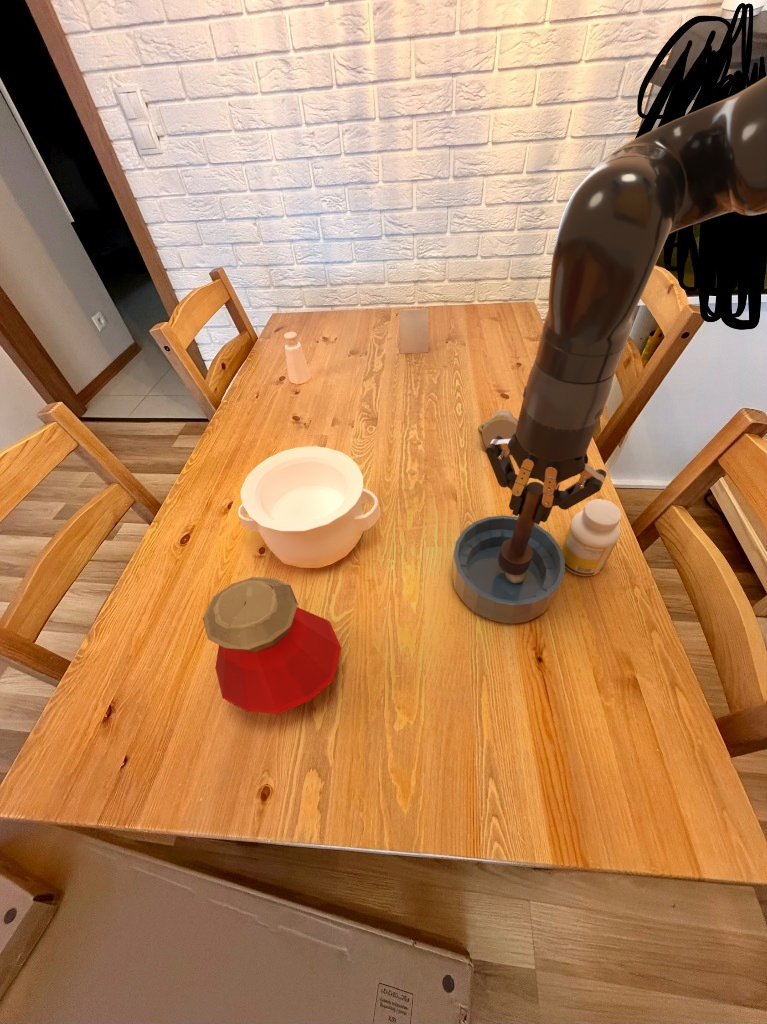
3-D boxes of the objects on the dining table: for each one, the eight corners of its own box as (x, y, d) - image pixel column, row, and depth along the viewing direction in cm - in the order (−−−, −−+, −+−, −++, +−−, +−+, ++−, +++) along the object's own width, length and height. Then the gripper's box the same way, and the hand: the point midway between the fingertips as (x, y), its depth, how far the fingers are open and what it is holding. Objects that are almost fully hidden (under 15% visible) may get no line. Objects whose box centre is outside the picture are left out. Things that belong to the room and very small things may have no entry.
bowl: (568, 563, 71) (578, 539, 66) (534, 644, 63) (543, 623, 58) (476, 526, 76) (480, 502, 72) (434, 596, 68) (435, 574, 64)
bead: (516, 582, 69) (532, 581, 67) (502, 584, 68) (518, 584, 65) (513, 562, 70) (529, 561, 67) (499, 564, 68) (515, 563, 66)
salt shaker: (316, 377, 108) (307, 333, 100) (297, 387, 106) (286, 343, 98) (302, 369, 111) (293, 325, 103) (284, 378, 109) (272, 334, 100)
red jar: (342, 621, 66) (320, 537, 51) (351, 718, 58) (328, 650, 43) (233, 638, 66) (178, 558, 51) (225, 739, 57) (156, 678, 42)
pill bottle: (593, 541, 73) (617, 491, 64) (609, 576, 69) (637, 527, 60) (553, 545, 73) (571, 495, 64) (566, 580, 69) (587, 532, 60)
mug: (518, 422, 93) (535, 401, 84) (504, 465, 92) (520, 449, 82) (483, 410, 94) (496, 388, 84) (468, 452, 92) (480, 435, 82)
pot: (380, 494, 83) (375, 441, 73) (384, 575, 71) (379, 525, 62) (259, 502, 83) (239, 451, 74) (243, 584, 72) (217, 536, 62)
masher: (533, 558, 67) (561, 484, 55) (521, 580, 65) (546, 507, 53) (505, 545, 69) (526, 470, 57) (492, 566, 67) (510, 492, 54)
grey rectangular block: (428, 352, 112) (428, 312, 105) (400, 353, 113) (399, 313, 105) (427, 344, 115) (428, 304, 107) (400, 345, 115) (399, 306, 108)
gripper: (645, 402, 45) (591, 515, 58) (509, 365, 50) (488, 477, 63) (627, 448, 41) (573, 558, 54) (481, 403, 46) (465, 514, 59)
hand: (527, 514), depth 58 cm, fingers closed on masher, 2 cm apart
